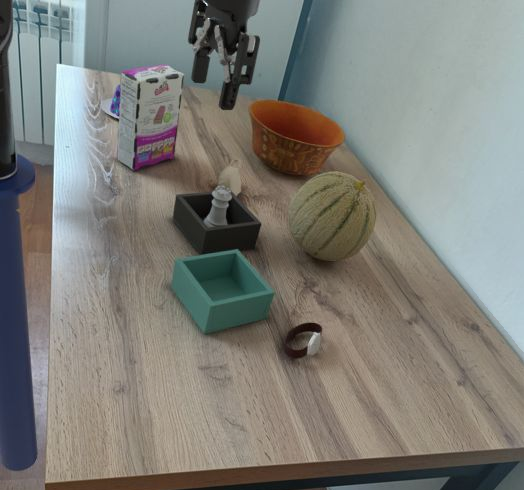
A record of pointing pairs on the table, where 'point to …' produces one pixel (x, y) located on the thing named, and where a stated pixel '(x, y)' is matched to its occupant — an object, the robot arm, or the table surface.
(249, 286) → the sea-green bin
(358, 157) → the table surface
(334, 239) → the cantaloupe
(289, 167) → the bowl
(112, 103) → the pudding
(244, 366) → the table surface
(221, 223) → the rook chess piece
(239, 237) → the charcoal bin
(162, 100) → the candy bar box
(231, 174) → the decorative ornament
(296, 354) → the watch
